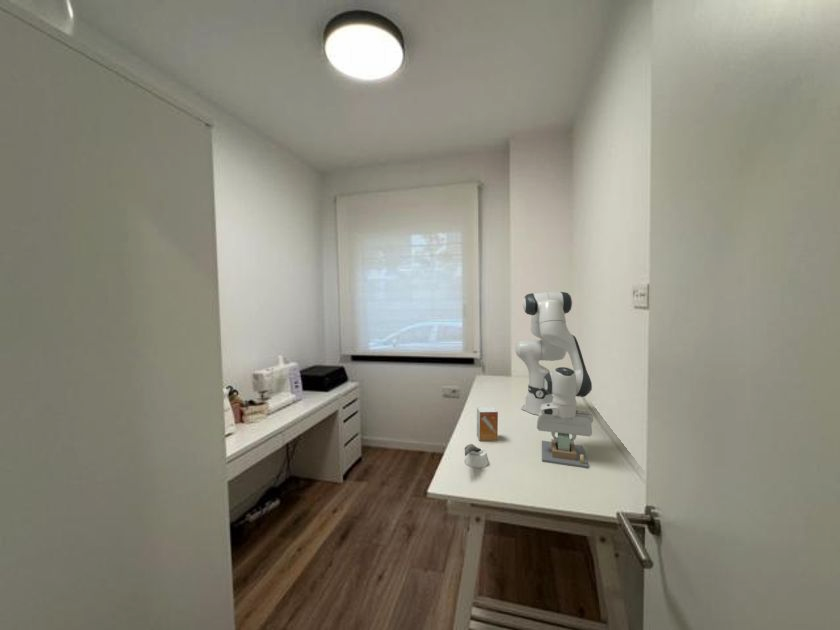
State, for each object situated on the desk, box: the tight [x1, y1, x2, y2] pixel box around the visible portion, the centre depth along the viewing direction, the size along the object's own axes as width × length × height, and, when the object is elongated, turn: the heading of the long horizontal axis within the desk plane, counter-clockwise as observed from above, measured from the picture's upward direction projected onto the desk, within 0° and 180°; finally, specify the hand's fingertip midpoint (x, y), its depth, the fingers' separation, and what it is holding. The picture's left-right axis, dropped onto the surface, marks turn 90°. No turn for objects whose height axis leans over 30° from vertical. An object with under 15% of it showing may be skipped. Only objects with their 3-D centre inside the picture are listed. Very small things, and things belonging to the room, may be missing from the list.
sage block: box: [557, 433, 571, 452], centre depth 137 cm, size 4×7×6 cm, turn 161°
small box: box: [476, 406, 499, 442], centre depth 152 cm, size 8×6×13 cm
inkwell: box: [464, 443, 490, 469], centre depth 127 cm, size 9×18×10 cm, turn 157°
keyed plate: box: [541, 438, 589, 469], centre depth 137 cm, size 18×16×4 cm
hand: (563, 443), depth 137 cm, fingers closed on sage block, 4 cm apart
